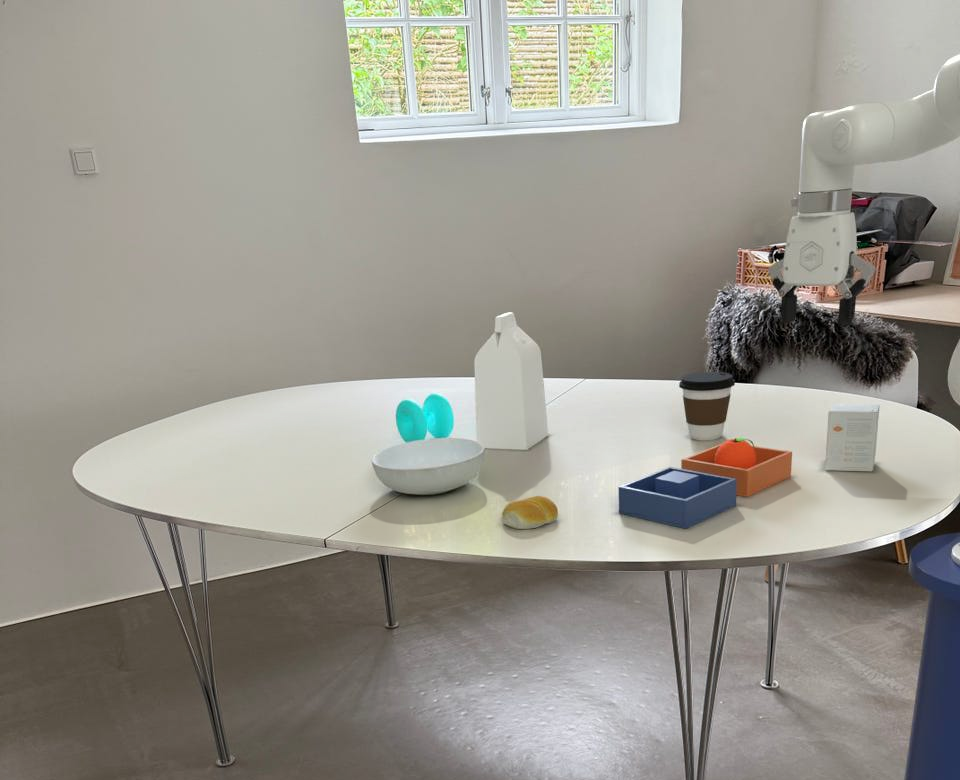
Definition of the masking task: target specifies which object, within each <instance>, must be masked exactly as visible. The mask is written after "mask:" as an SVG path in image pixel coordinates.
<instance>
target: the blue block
mask: <svg viewBox="0 0 960 780" xmlns="http://www.w3.org/2000/svg"><path fill="white" fill-rule="evenodd" d="M655 493H658V494H663V495H668V496H673V497H677V498H682V499H687V498H689V497H691V496H694V495H696V494H698V493H699V475H694V474H689V473H683V472H678V471H673V472H670V473H668V474H665V475H663V476H660V477H658V478H655Z"/></svg>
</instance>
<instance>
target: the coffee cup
mask: <svg viewBox="0 0 960 780" xmlns="http://www.w3.org/2000/svg"><path fill="white" fill-rule="evenodd" d="M733 378H734V375H733V374H731V373H729V372H720V371H704V372H702V371H701V372H694V373H690V374H685V375H683V376H682V377H681V379H680V381H679V383H678V387H679V388H680V389H682V401H683V407H684V414H685V421H686V423H687V430H688V435H689V437H690V438H691V439H692V440H696V441H713V440H717V439H720V438H721V437H722V435H723V433H724V428H725V422H727V417H728V411H729V405H730V400H731V395H732V394H731V392H732V391H731V390H732V387H733V386H735V384H736V381H735V379H733Z"/></svg>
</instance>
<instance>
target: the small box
mask: <svg viewBox="0 0 960 780" xmlns="http://www.w3.org/2000/svg"><path fill="white" fill-rule="evenodd" d="M879 415H880V404H879V403H872V404H871V403H870V404H869V403H867V404H866V403H865V404H863V403H862V404H861V403H860V404H859V403H855V404H854V403H851V404H850V403H849V404H848V403H835V404H832V405H831V406H830V409H829V411H828V415H827V416H828V417H827V418H828V419H827V431H826V447H825V460H824V461H825V463H824V470H825V471H838V472H841V471H843V472H873V471H874V466H875V462H876V453H877V443H878V431H879V430H878V429H879V419H880V416H879Z"/></svg>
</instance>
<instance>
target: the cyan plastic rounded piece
mask: <svg viewBox="0 0 960 780" xmlns="http://www.w3.org/2000/svg"><path fill="white" fill-rule="evenodd" d="M395 423H396V424H395V425H396V428H397V431H398V433H399V436H400V437H401V439H402V440H403V441H404V443H407V442H412V441H418V440H425V439H426V436H427V433H429V434H430V435H431V436H432V437H434V439H435V438H449V436H450V435H451V434H452V432H453V429H454V425H455V418H454V412H453V408H452V406H451V404H450V402H449V401H448V399H447V398H446V397H445V396H444V395H443V394H441V393H438V392H433V393H430V394H429V395H427V396H426V398H425V399H424V401H423V403H422V407H421V405H420V404H419V403H418V402H417V401H416V400H414V399H411V398H405V399H403V400H401V401H399V403H398V405H397V407H396V411H395Z"/></svg>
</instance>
